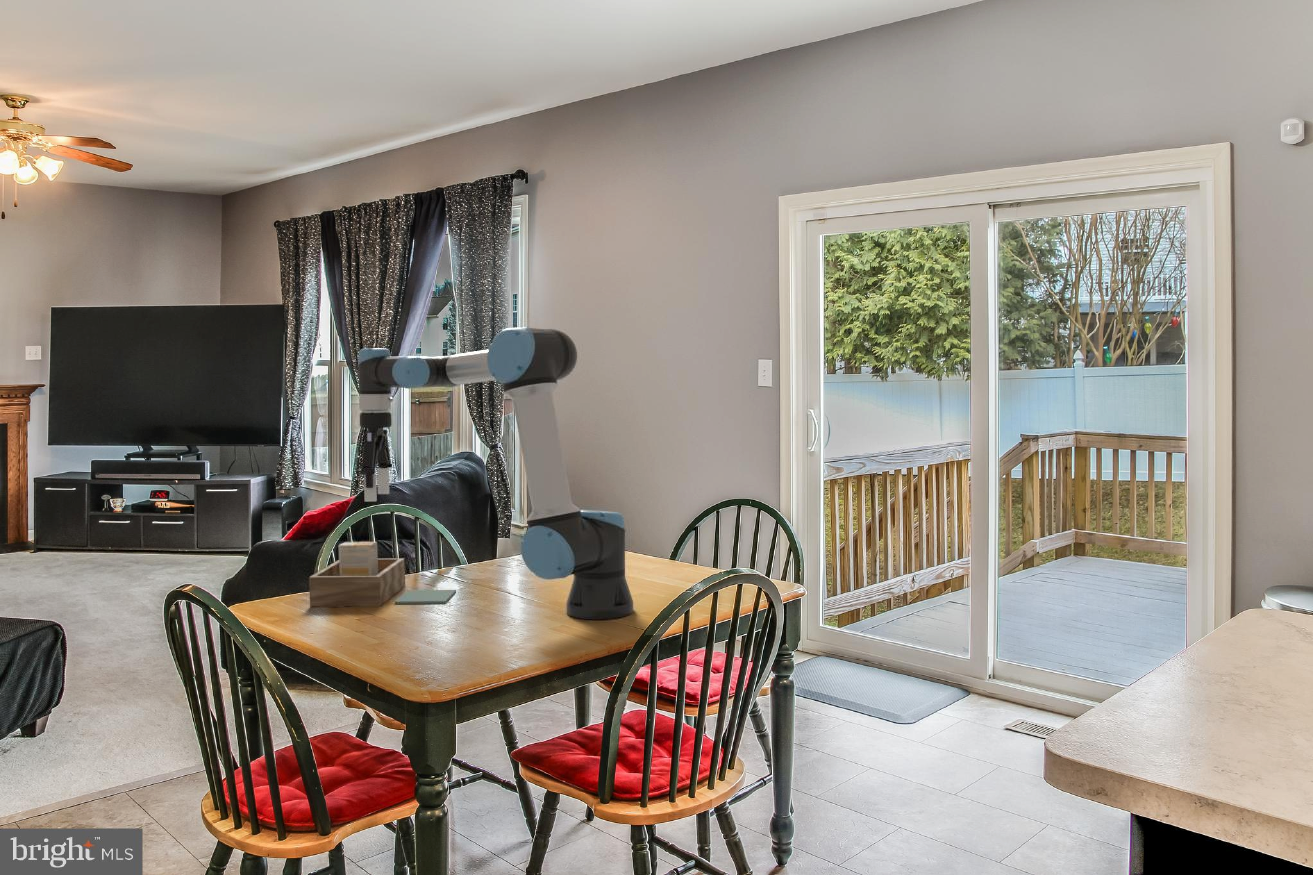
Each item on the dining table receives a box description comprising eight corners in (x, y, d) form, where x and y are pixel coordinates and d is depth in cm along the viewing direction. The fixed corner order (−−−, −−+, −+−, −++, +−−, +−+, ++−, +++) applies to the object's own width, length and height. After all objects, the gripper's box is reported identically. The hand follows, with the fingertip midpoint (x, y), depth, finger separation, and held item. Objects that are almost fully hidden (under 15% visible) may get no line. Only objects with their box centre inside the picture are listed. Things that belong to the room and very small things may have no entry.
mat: (445, 603, 228) (445, 601, 228) (394, 603, 228) (394, 601, 228) (456, 592, 240) (456, 589, 240) (407, 592, 240) (407, 590, 240)
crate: (380, 606, 226) (379, 576, 226) (309, 606, 226) (309, 577, 226) (405, 585, 248) (404, 558, 248) (341, 585, 248) (340, 558, 248)
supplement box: (379, 593, 239) (378, 541, 238) (372, 598, 234) (370, 544, 234) (347, 593, 240) (346, 541, 239) (339, 597, 235) (337, 544, 234)
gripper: (379, 413, 225) (381, 504, 227) (401, 409, 250) (403, 490, 251) (346, 414, 225) (348, 504, 226) (372, 409, 249) (374, 491, 251)
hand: (377, 497), depth 239 cm, fingers open, 13 cm apart
